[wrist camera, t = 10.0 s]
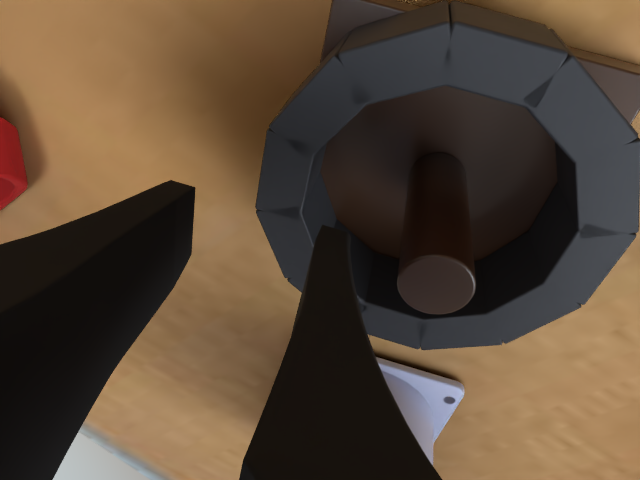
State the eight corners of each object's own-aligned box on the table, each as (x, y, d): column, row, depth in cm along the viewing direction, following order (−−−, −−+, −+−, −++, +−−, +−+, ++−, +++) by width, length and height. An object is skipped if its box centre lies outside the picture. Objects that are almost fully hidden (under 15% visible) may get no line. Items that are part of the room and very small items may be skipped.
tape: (515, 324, 18) (526, 382, 16) (264, 249, 19) (241, 297, 17) (688, 62, 12) (742, 98, 10) (315, -38, 13) (289, -25, 11)
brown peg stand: (508, 292, 19) (534, 445, 14) (290, 228, 20) (233, 354, 14) (645, 66, 14) (775, 174, 8) (341, -15, 14) (280, 38, 9)
